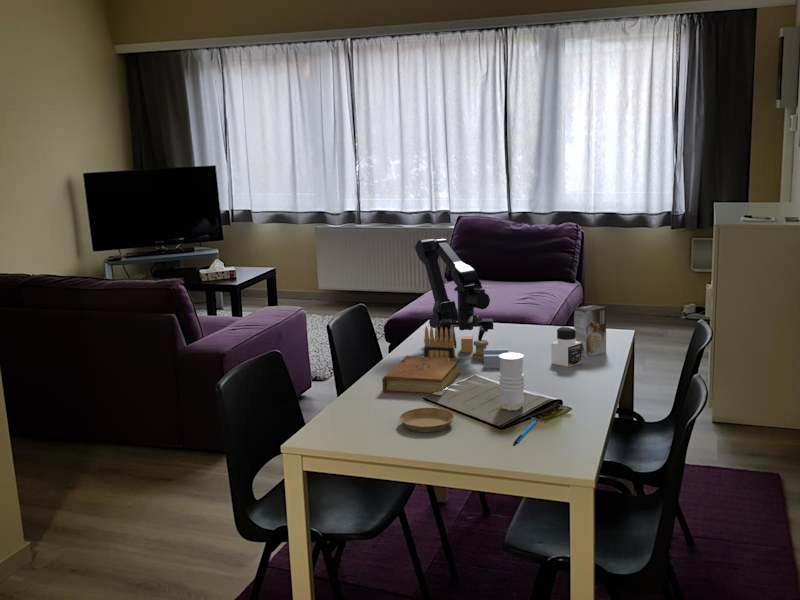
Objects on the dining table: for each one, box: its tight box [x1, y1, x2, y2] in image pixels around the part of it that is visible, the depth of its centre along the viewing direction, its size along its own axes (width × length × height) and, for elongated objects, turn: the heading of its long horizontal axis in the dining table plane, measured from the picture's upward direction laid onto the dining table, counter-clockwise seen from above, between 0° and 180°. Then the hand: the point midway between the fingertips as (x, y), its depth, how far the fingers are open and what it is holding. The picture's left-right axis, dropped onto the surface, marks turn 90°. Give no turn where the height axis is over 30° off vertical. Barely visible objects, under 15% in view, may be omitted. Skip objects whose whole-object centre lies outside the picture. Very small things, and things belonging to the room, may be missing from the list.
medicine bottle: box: [550, 326, 583, 368], centre depth 280 cm, size 7×7×12 cm
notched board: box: [483, 348, 509, 369], centre depth 283 cm, size 9×8×4 cm
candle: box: [498, 352, 525, 404], centre depth 239 cm, size 7×7×15 cm
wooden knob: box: [471, 339, 489, 361], centre depth 291 cm, size 6×6×6 cm
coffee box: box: [573, 304, 607, 358], centre depth 290 cm, size 9×6×16 cm
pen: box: [513, 419, 538, 446], centre depth 220 cm, size 1×19×1 cm, turn 154°
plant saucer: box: [399, 407, 455, 433], centre depth 229 cm, size 15×15×3 cm
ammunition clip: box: [423, 325, 456, 358], centre depth 289 cm, size 11×2×12 cm, turn 70°
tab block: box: [460, 335, 474, 353], centre depth 301 cm, size 4×4×5 cm
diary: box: [381, 355, 461, 396], centre depth 266 cm, size 23×19×6 cm
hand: (467, 348), depth 301 cm, fingers open, 8 cm apart
